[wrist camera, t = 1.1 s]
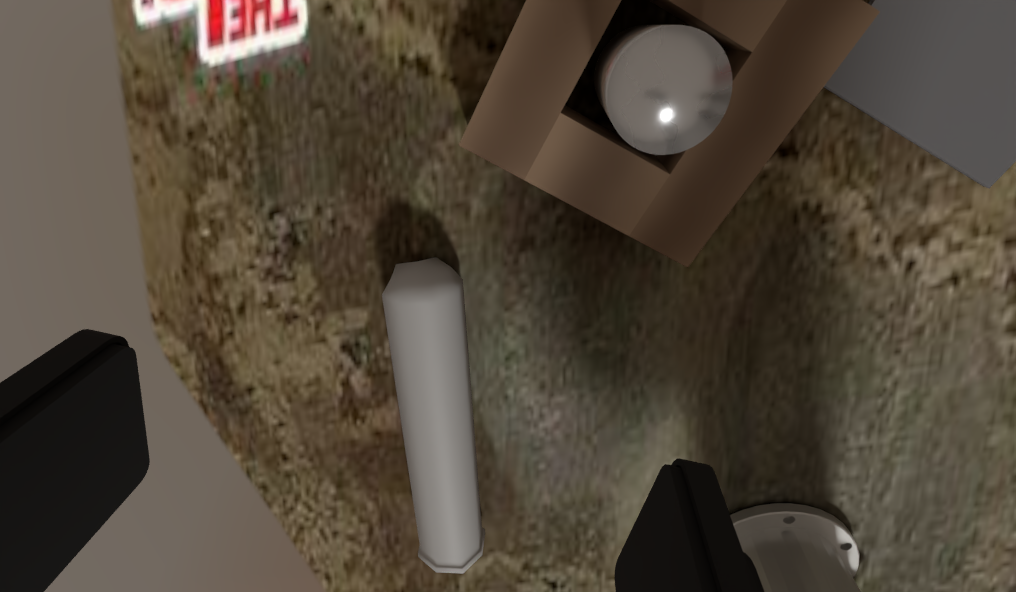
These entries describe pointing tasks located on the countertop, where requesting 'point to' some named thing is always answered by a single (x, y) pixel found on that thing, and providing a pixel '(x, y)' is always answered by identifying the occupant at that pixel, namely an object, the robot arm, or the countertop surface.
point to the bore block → (636, 174)
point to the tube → (436, 410)
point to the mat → (940, 79)
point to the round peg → (663, 86)
